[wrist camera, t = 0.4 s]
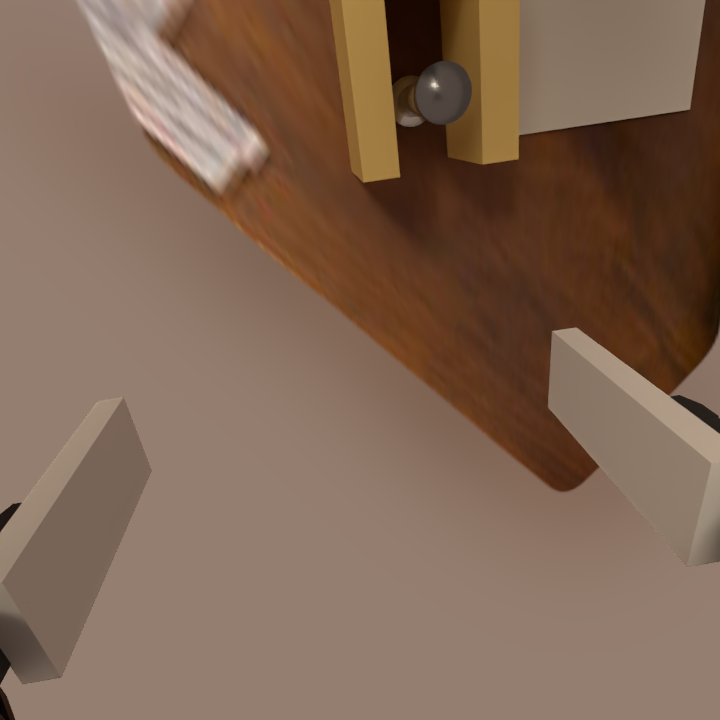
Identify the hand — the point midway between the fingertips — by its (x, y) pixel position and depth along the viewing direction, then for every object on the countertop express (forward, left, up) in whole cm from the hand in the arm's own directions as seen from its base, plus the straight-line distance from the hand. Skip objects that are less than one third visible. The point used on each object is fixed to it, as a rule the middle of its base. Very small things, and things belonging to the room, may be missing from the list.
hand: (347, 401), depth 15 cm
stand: (-8, +8, -25) cm, 28 cm away
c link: (-11, +8, -26) cm, 29 cm away
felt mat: (-11, +22, -25) cm, 35 cm away
